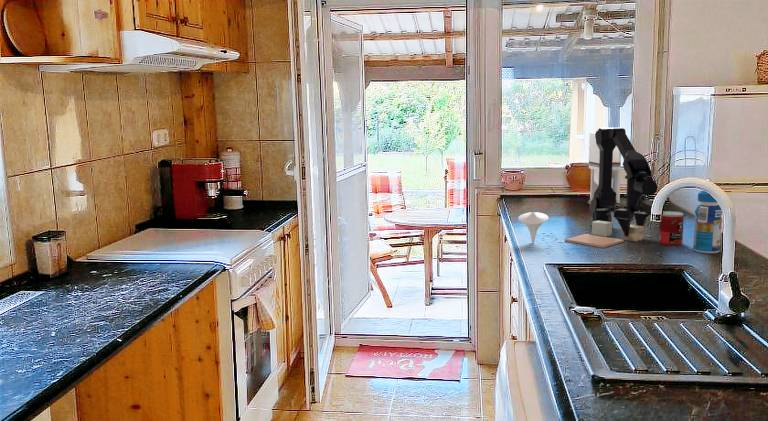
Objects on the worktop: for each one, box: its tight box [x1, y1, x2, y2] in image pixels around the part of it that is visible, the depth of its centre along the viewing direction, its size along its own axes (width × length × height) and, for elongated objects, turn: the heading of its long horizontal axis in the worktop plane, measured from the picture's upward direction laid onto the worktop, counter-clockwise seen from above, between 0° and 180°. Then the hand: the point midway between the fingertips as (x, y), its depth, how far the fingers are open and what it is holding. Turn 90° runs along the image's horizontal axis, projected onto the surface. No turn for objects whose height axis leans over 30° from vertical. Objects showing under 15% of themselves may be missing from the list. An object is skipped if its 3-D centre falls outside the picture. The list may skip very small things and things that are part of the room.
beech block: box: [622, 224, 645, 242], centre depth 243 cm, size 5×5×5 cm
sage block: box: [591, 220, 613, 237], centre depth 253 cm, size 6×4×5 cm, turn 40°
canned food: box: [658, 210, 685, 247], centre depth 234 cm, size 8×8×11 cm
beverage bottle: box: [692, 190, 723, 254], centre depth 221 cm, size 8×8×20 cm
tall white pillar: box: [587, 131, 622, 208], centre depth 317 cm, size 11×11×35 cm
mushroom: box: [517, 210, 549, 244], centre depth 242 cm, size 10×11×12 cm
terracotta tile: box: [564, 233, 625, 249], centre depth 242 cm, size 16×13×1 cm
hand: (633, 234), depth 244 cm, fingers open, 9 cm apart
